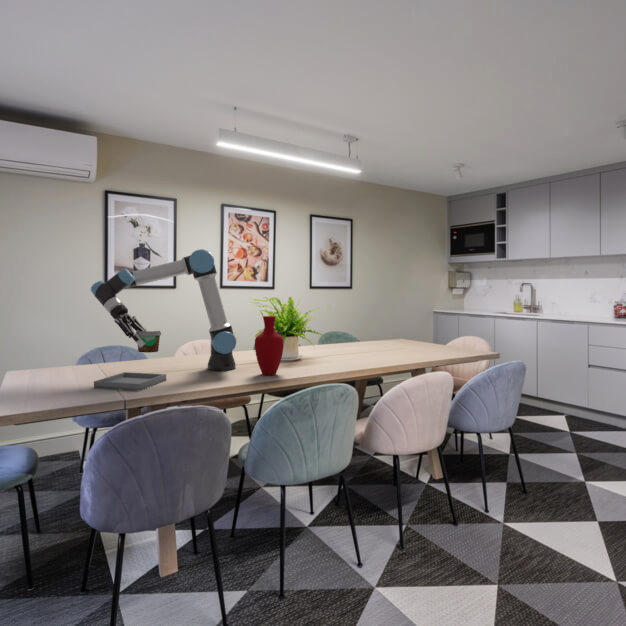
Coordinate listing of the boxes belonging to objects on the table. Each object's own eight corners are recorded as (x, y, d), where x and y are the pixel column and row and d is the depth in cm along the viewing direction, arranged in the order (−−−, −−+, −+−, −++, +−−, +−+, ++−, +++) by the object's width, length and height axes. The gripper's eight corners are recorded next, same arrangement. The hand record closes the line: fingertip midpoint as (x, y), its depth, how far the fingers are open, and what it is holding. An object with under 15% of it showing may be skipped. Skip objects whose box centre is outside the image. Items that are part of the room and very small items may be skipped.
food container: (129, 352, 207) (130, 330, 206) (137, 350, 213) (137, 329, 212) (154, 353, 205) (154, 331, 204) (161, 351, 211) (161, 330, 210)
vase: (272, 378, 217) (273, 317, 216) (248, 375, 225) (248, 316, 223) (288, 373, 230) (289, 316, 229) (265, 370, 238) (265, 315, 236)
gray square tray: (166, 380, 210) (166, 374, 210) (139, 391, 188) (139, 384, 188) (124, 378, 214) (124, 372, 214) (93, 388, 193) (93, 381, 192)
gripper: (123, 313, 221) (153, 347, 218) (97, 315, 202) (129, 352, 200) (133, 302, 219) (163, 337, 217) (108, 304, 201) (140, 341, 198)
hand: (146, 344), depth 208 cm, fingers closed on food container, 6 cm apart
